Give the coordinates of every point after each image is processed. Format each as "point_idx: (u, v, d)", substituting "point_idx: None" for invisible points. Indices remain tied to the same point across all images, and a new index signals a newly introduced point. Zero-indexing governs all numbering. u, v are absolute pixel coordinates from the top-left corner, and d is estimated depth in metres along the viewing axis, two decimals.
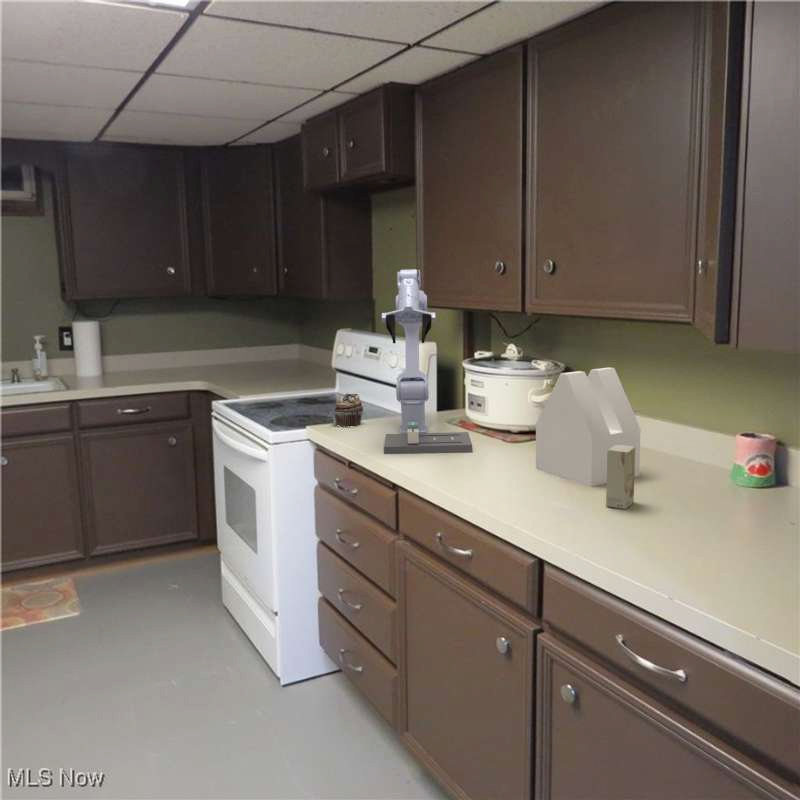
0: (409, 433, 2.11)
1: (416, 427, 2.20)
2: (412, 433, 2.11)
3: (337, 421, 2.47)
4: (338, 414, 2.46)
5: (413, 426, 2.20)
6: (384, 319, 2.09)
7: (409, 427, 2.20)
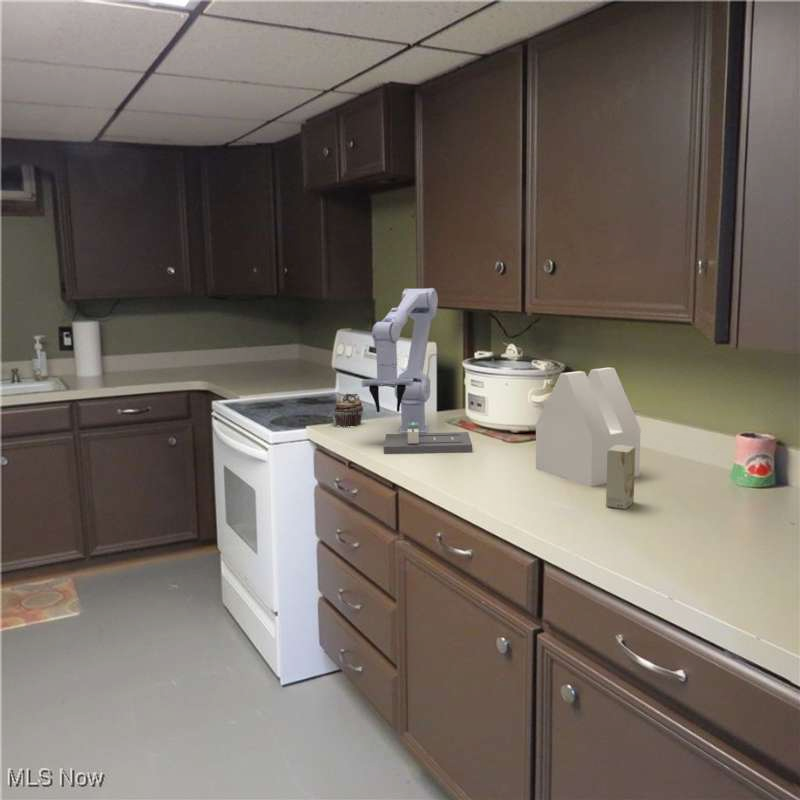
0: (409, 433, 2.11)
1: (416, 427, 2.20)
2: (412, 433, 2.11)
3: (337, 421, 2.47)
4: (338, 414, 2.46)
5: (413, 426, 2.20)
6: None
7: (409, 427, 2.20)
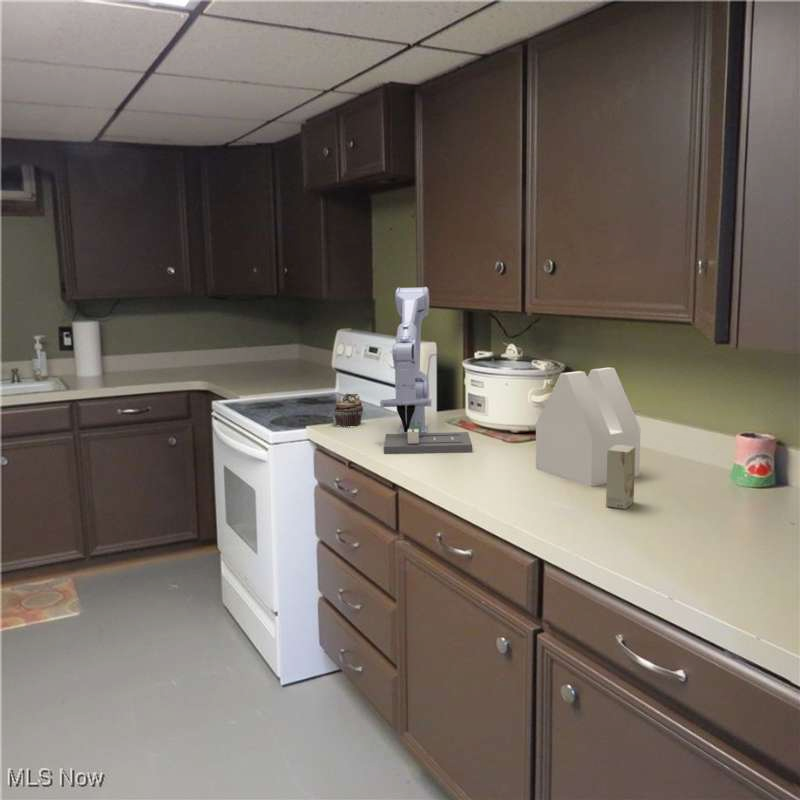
0: (409, 433, 2.11)
1: (419, 427, 2.20)
2: (412, 433, 2.11)
3: (337, 421, 2.47)
4: (338, 414, 2.46)
5: (416, 426, 2.20)
6: None
7: (412, 427, 2.20)
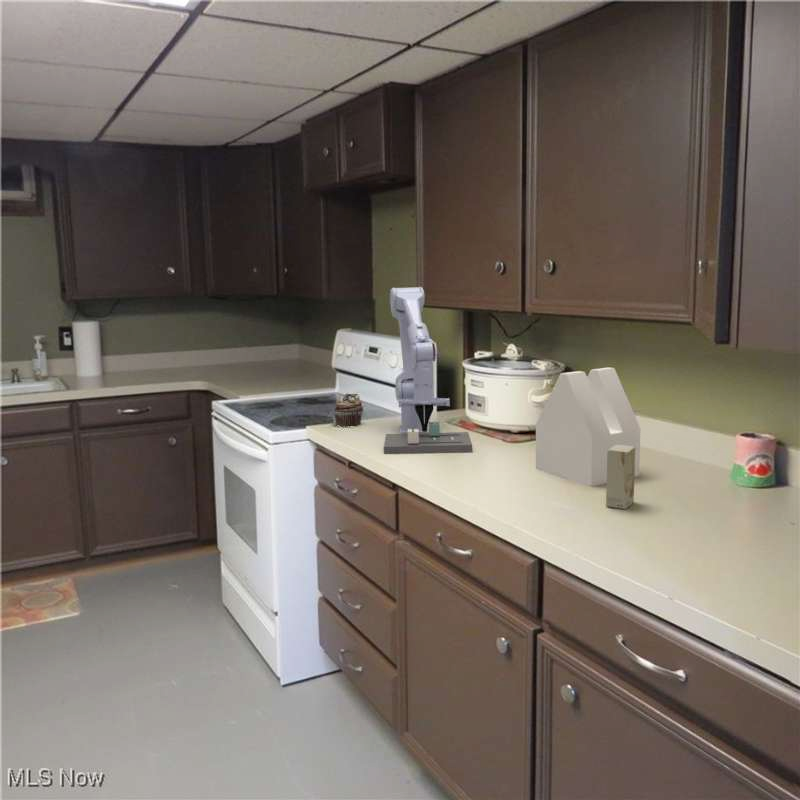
0: (409, 433, 2.11)
1: (437, 427, 2.20)
2: (412, 433, 2.11)
3: (337, 421, 2.47)
4: (338, 414, 2.46)
5: (434, 426, 2.20)
6: None
7: (430, 427, 2.20)
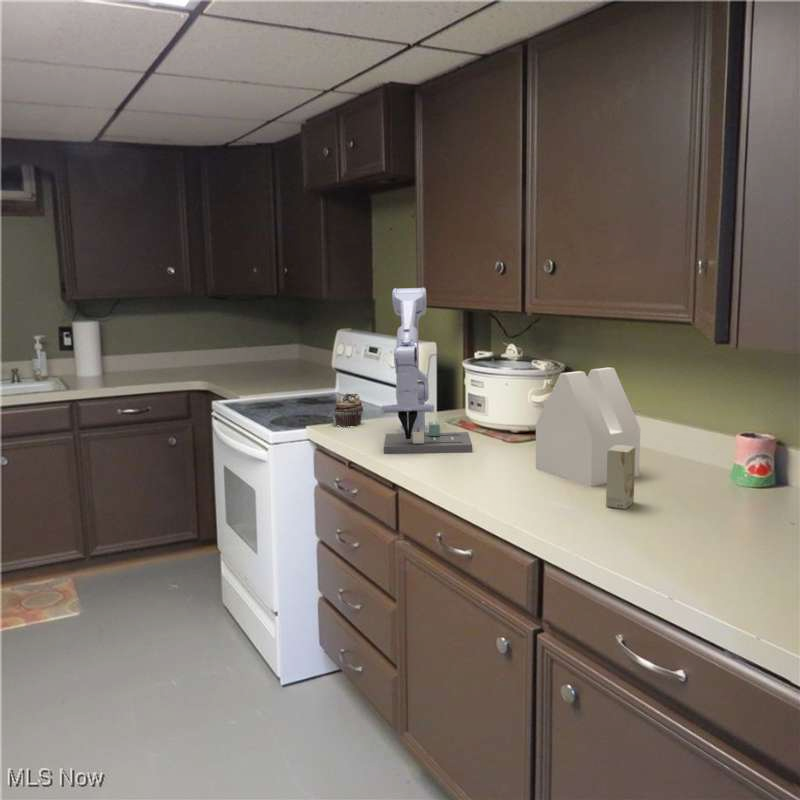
0: (414, 433, 2.11)
1: (437, 427, 2.20)
2: (417, 433, 2.11)
3: (337, 421, 2.47)
4: (338, 414, 2.46)
5: (434, 426, 2.20)
6: None
7: (430, 427, 2.20)
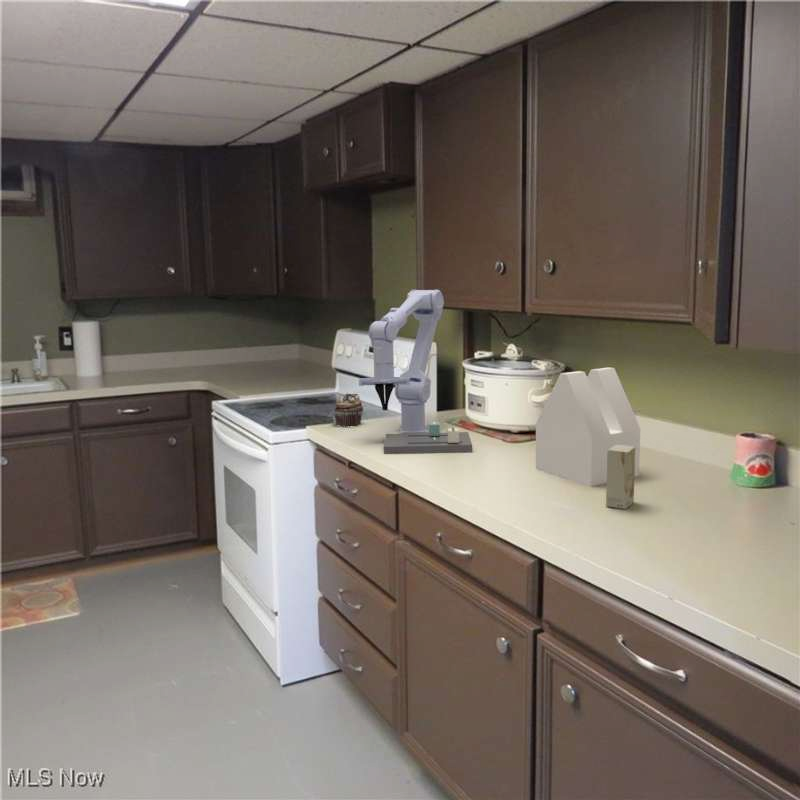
0: (450, 432, 2.11)
1: (437, 427, 2.20)
2: (453, 432, 2.11)
3: (337, 421, 2.47)
4: (338, 414, 2.46)
5: (434, 426, 2.20)
6: None
7: (430, 427, 2.20)
